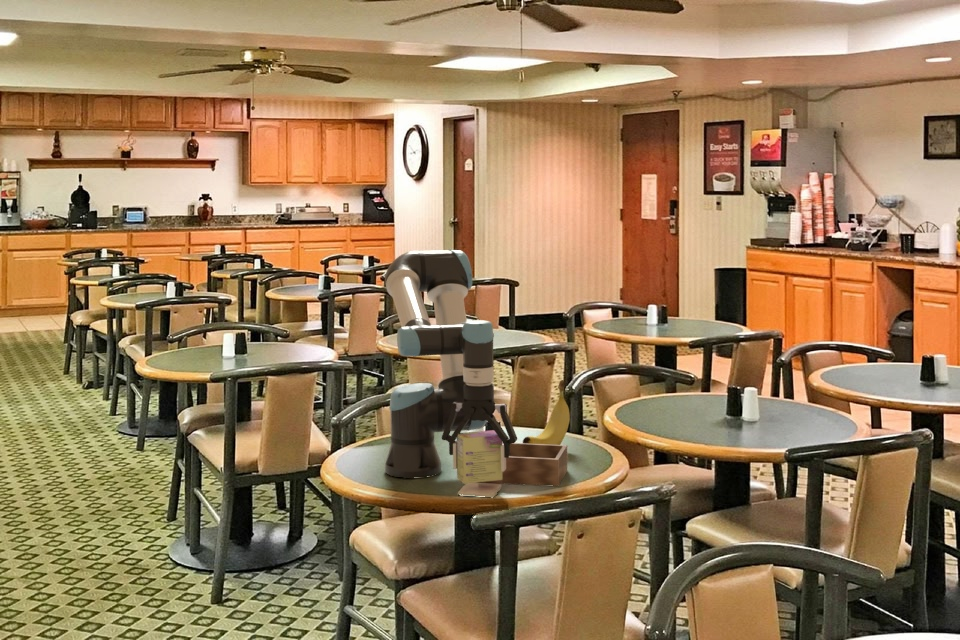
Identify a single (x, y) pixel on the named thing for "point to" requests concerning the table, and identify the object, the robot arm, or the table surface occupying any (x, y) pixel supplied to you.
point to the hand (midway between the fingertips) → (479, 468)
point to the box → (478, 457)
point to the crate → (535, 464)
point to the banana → (554, 423)
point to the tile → (480, 489)
